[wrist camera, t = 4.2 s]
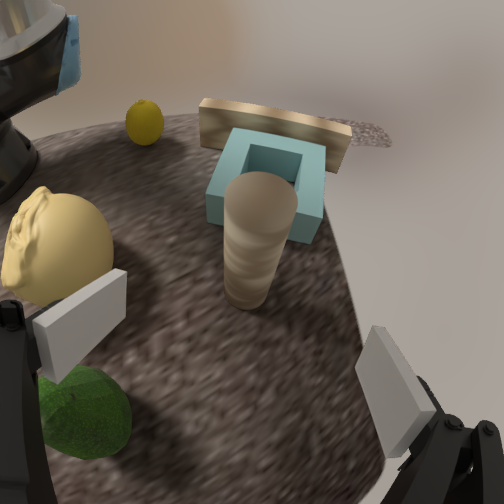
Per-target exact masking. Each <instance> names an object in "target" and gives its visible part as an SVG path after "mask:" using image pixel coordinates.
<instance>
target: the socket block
mask: <svg viewBox="0 0 504 504" xmlns="http://www.w3.org/2000/svg"><path fill="white" fill-rule="evenodd" d="M325 151H326V146H322V145H318V144H314V143H310V142H306V141H301V140H297V139H292V138H288V137H283V136H278V135H273V134H268V133H263V132H258V131H252V130H246V129H240V128H234V127H233V130H232V132H231V134H230V136H229V139H228V141H227V143H226V145H225V148H224V150H223V152H222V154H221V157H220V159H219V161H218V164H217V166H216V168H215V171H214V173H213V176H212V178H211V180H210V183H209V185H208V188H207V190H206V193H205V199H206V213H207V223H212V224H217V225H222V226H224V194H225V190H226V188H227V186H228V184H229V183H230V182H231V181H232V180H233V179H234V178H236V177H237V176H239V175H241V174H244V173H248V172H255V171H260V172H268V173H272V174H275V175H277V176H279V177H281V178H283V179H284V180H286V181H291V182H295V186H294V190H295V192H296V194H297V197H298V207H297V210H296V213H295V216H294V219H293V222H292V225H291V228H290V231H289V234H288V237H287V239H288V240H292V241H297V242H301V243H306V244H311V242H312V240H313V238H314V236H315V234H316V232H317V229H318V227H319V225H320V223H321V221H322V219H323V205H324V182H325Z"/></svg>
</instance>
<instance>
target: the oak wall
mask: <svg viewBox="0 0 504 504" xmlns="http://www.w3.org/2000/svg"><path fill="white" fill-rule="evenodd" d="M199 127H200V146H203V147H210V148H216V149H222V150H224V148H225V145H226V143H227V141H228V139H229V136H230V134H231V132H232V130H233V127H234V128H240V129H246V130H252V131H258V132H263V133H268V134H273V135H278V136H283V137H288V138H292V139H297V140H301V141H306V142H310V143H314V144H318V145H322V146H326V151H325V171H328V172H332V173H336V174H337V172H338V169H339V167H340V164H341V162H342V160H343V157H344V154H345V152H346V150H347V147H348V145H349V142H350V140H351V137H352V133H351V127H350V126H347V125H343V124H340V123H336V122H333V121H329V120H325V119H321V118H317V117H313V116H309V115H305V114H300V113H296V112H291V111H286V110H281V109H276V108H271V107H265V106H260V105H254V104H248V103H241V102H234V101H226V100H218V99H209V98H204V99H203V101H202V102H201V104H200V105H199Z"/></svg>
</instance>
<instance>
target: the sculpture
mask: <svg viewBox="0 0 504 504" xmlns="http://www.w3.org/2000/svg"><path fill="white" fill-rule="evenodd" d="M113 258H114V248H113V240H112V235H111V232H110V229H109V226H108V224H107V222H106V220H105V218H104V216H103V215H102V214H101V212H100V211H99V210H98V209H97V208H96V207H95V206H94V205H93V204H92V203H90V202H89V201H87V200H85V199H83V198H81V197H79V196H76V195H72V194H52V193H51V192H50V191H49V189H47V188H46V187H45V186H42V187H39V188H37V189H36V190H35V191H34V192H33V193H32V194H31V196H30V197H29V198H27V199H26V200H25V201H23V202H22V204H21V206H20V208H19V210H18V212H17V214H15V216H14V217H13V218H12V222H11V224H10V228H9V231H8V235H7V240H6V244H5V253H4V259H3V265H2V271H1V280H2V284H3V286H4V288H6V289H8V290H9V291H13V292H14V294H15V295H16V296H18V297H20V298H21V299H22V300H25V301H29V302H31V303H33V304H35V305H38V306H42V307H45V306H46V307H47V305H48V304H50V303H52V302H53V301H56V300H59V299H63V298H65V299H66V298H67V297H69V296H71V295H72V294H74V293H75V292H77V291H79V290H80V289H82V288H83V287H85V286H87V285H88V284H90V283H92V282H93V281H95V280H97V279H98V278H100V277H101V276H103V275H105V274H107V273H108V272H110V271H111V270H112V266H113Z"/></svg>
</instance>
